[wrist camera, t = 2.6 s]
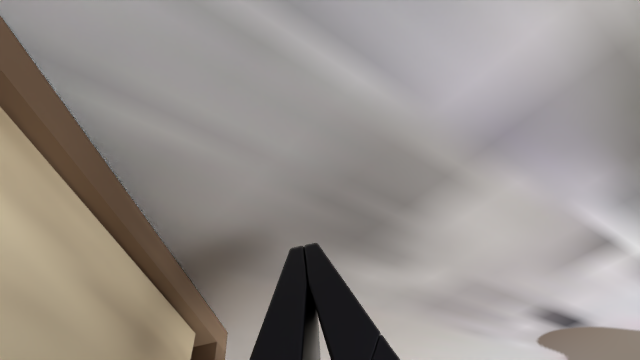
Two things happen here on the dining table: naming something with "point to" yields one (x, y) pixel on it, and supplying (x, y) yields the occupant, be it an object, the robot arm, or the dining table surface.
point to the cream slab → (71, 274)
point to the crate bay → (100, 189)
